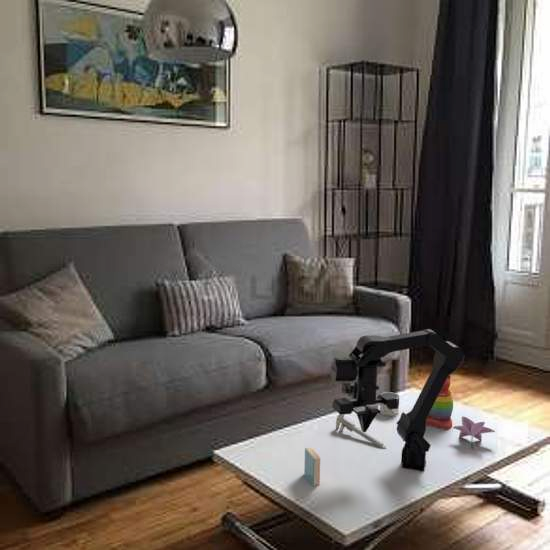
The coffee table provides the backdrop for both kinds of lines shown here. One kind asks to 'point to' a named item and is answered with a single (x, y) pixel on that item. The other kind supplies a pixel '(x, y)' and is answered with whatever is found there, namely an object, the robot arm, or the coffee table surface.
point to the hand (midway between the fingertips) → (363, 431)
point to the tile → (312, 466)
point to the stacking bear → (442, 408)
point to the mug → (390, 412)
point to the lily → (472, 429)
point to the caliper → (356, 430)
